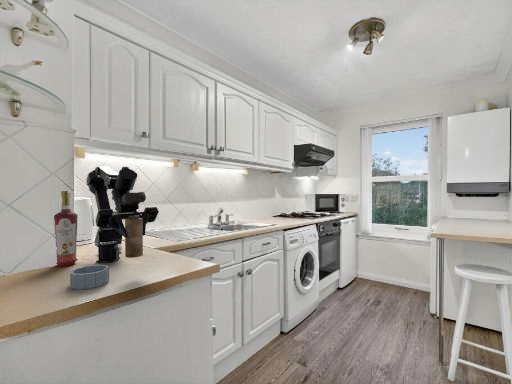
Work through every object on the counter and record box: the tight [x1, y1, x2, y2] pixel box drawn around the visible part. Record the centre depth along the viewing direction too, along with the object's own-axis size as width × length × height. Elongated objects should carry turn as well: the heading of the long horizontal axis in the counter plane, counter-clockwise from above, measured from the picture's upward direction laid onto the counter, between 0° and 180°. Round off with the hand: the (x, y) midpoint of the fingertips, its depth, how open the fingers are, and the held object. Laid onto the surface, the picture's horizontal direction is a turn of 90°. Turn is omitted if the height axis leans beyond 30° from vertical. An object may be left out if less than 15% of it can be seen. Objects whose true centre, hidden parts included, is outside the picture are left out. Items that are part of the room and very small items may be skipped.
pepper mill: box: [124, 215, 144, 259], centre depth 86 cm, size 5×5×13 cm
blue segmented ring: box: [69, 264, 110, 291], centre depth 80 cm, size 10×10×4 cm
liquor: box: [53, 190, 79, 267], centre depth 100 cm, size 7×7×28 cm
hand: (135, 235), depth 85 cm, fingers closed on pepper mill, 5 cm apart
